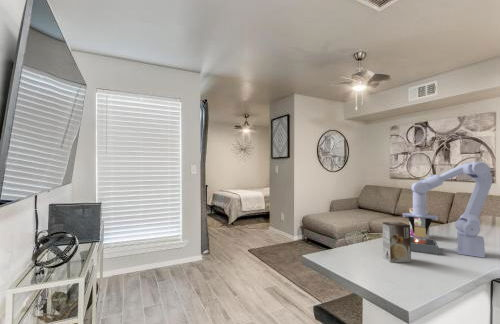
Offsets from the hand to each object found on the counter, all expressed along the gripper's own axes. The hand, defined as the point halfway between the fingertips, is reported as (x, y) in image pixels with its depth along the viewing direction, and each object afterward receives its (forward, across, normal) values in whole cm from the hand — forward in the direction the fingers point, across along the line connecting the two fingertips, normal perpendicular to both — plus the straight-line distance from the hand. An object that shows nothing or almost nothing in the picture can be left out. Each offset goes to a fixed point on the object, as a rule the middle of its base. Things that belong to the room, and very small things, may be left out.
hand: (419, 232), depth 125 cm
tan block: (+1, 0, 0) cm, 1 cm away
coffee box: (+8, -10, -24) cm, 27 cm away
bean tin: (+8, 0, 0) cm, 8 cm away
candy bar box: (+8, +1, +26) cm, 27 cm away
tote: (+8, 0, 0) cm, 8 cm away
